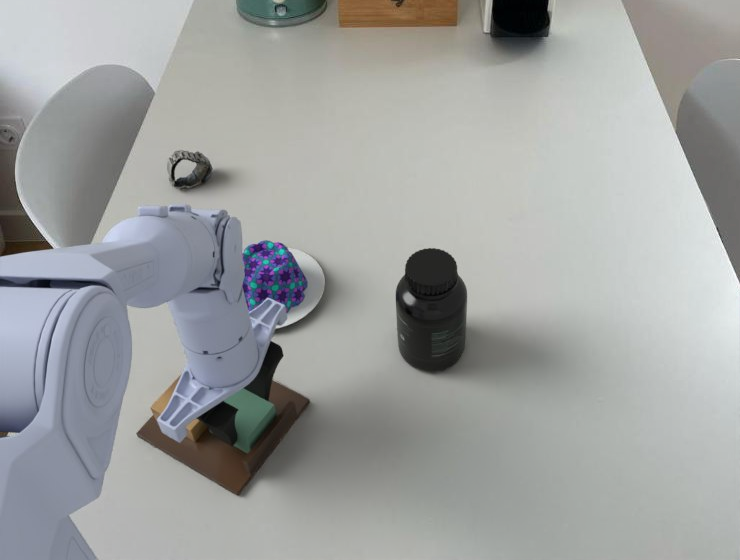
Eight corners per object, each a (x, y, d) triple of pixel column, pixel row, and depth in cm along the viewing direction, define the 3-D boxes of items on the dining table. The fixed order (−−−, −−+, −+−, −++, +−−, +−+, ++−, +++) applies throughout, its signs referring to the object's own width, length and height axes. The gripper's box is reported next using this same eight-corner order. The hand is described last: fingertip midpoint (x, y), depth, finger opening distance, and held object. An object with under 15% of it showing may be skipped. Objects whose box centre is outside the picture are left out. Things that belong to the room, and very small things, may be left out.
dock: (238, 496, 71) (232, 481, 69) (137, 436, 76) (130, 421, 74) (310, 402, 78) (307, 386, 76) (214, 352, 83) (209, 337, 81)
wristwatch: (197, 197, 102) (216, 165, 101) (160, 184, 99) (180, 151, 98) (191, 184, 105) (211, 153, 103) (155, 171, 101) (174, 139, 100)
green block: (252, 456, 73) (247, 438, 71) (209, 432, 75) (203, 414, 73) (279, 422, 76) (274, 404, 74) (237, 400, 78) (231, 381, 76)
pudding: (347, 280, 89) (344, 247, 86) (274, 353, 82) (266, 320, 79) (267, 236, 95) (261, 203, 91) (192, 301, 88) (181, 269, 84)
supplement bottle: (389, 330, 84) (384, 250, 76) (450, 312, 86) (451, 232, 78) (411, 382, 79) (408, 303, 71) (475, 362, 81) (480, 282, 73)
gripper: (233, 251, 71) (256, 345, 81) (113, 371, 62) (155, 462, 72) (298, 280, 69) (314, 374, 78) (182, 410, 60) (216, 499, 69)
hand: (242, 418), depth 75 cm, fingers closed on green block, 4 cm apart
